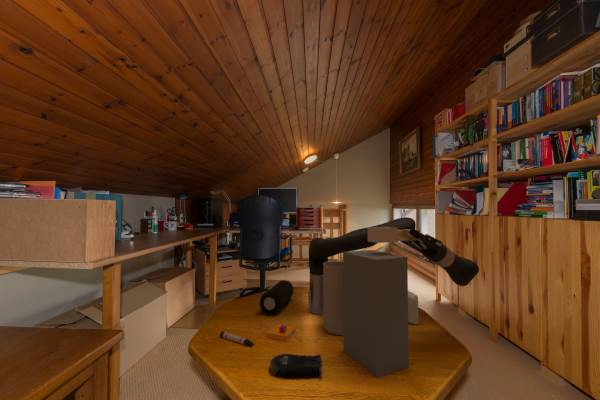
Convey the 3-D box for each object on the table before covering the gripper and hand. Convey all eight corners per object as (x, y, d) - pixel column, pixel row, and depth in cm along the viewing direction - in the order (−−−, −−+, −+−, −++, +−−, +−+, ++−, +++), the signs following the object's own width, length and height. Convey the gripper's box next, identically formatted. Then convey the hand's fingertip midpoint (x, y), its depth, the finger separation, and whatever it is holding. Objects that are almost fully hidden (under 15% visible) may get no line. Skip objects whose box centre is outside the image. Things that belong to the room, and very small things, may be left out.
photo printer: (392, 317, 115) (391, 288, 115) (397, 315, 117) (397, 287, 118) (415, 325, 107) (414, 294, 107) (420, 323, 109) (419, 292, 110)
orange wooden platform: (266, 339, 96) (266, 327, 96) (276, 329, 103) (276, 318, 103) (287, 343, 93) (287, 330, 93) (295, 333, 100) (295, 321, 100)
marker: (219, 338, 96) (219, 332, 96) (223, 335, 98) (224, 330, 98) (252, 349, 88) (252, 343, 88) (256, 346, 90) (256, 340, 90)
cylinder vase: (329, 320, 112) (329, 260, 113) (359, 325, 106) (358, 262, 107) (318, 332, 101) (318, 265, 102) (350, 339, 95) (350, 268, 96)
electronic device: (319, 365, 81) (271, 358, 82) (322, 348, 81) (273, 341, 81) (320, 390, 72) (266, 381, 72) (323, 371, 72) (268, 362, 72)
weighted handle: (410, 238, 94) (410, 226, 95) (422, 240, 90) (422, 226, 90) (367, 241, 86) (367, 227, 87) (378, 242, 82) (378, 228, 82)
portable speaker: (276, 297, 142) (277, 278, 142) (294, 299, 139) (294, 279, 140) (257, 315, 117) (258, 292, 117) (279, 317, 115) (279, 294, 115)
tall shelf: (372, 342, 92) (371, 250, 94) (408, 367, 78) (407, 257, 79) (343, 350, 87) (343, 251, 89) (376, 377, 73) (375, 259, 74)
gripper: (424, 241, 104) (395, 219, 98) (459, 245, 91) (428, 221, 85) (418, 259, 102) (387, 238, 96) (452, 266, 89) (419, 242, 83)
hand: (406, 230), depth 90 cm, fingers closed on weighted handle, 3 cm apart
